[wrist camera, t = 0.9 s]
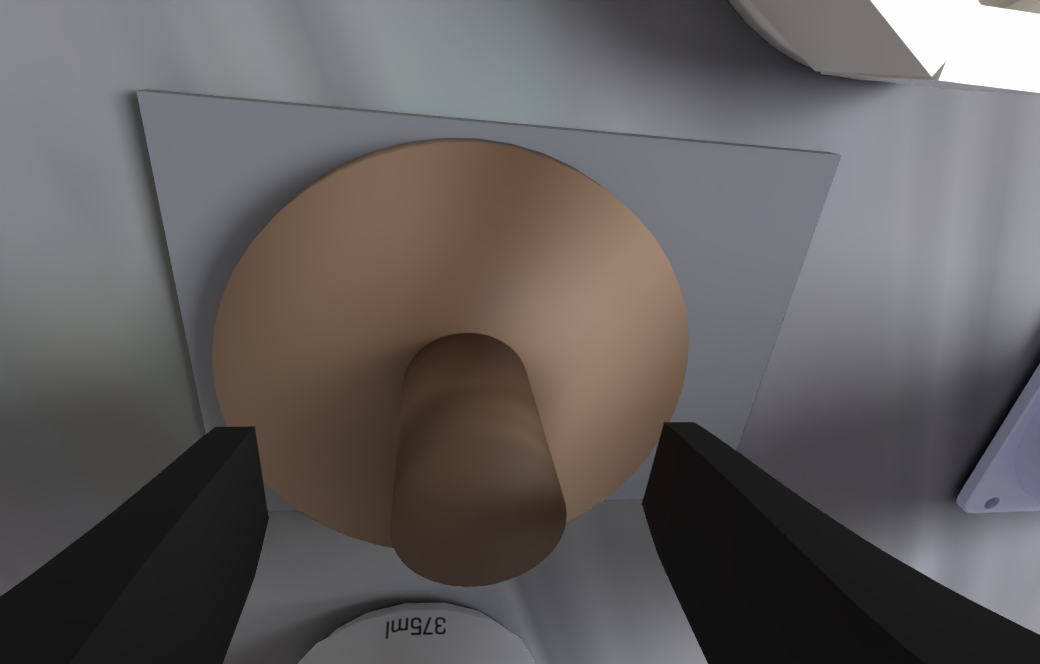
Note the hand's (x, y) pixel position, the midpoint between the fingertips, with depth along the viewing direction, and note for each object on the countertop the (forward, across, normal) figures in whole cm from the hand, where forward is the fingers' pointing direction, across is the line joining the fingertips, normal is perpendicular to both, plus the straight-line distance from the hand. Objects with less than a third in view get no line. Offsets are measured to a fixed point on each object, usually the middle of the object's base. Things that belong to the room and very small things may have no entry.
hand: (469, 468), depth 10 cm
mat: (+4, -1, 0) cm, 4 cm away
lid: (+4, 0, 0) cm, 4 cm away
